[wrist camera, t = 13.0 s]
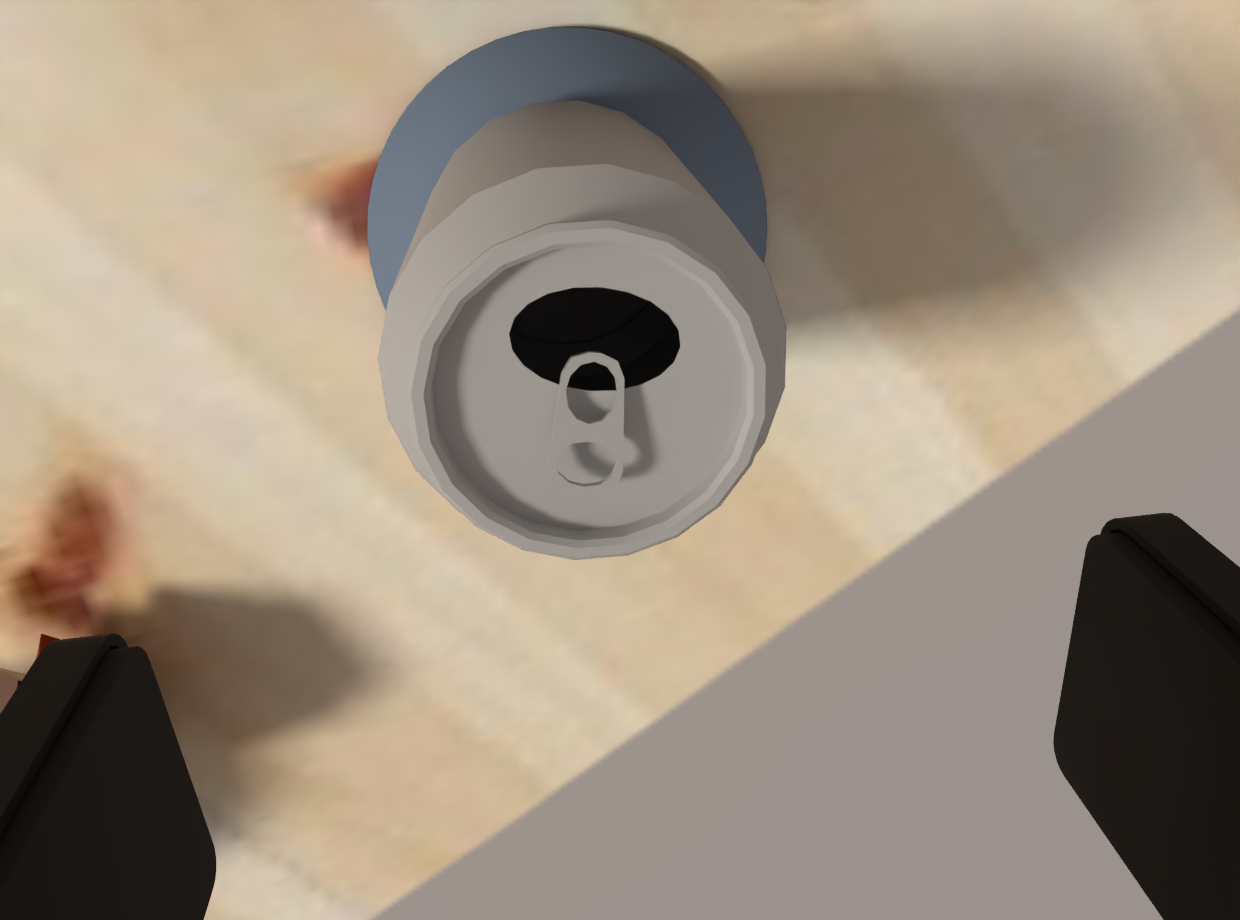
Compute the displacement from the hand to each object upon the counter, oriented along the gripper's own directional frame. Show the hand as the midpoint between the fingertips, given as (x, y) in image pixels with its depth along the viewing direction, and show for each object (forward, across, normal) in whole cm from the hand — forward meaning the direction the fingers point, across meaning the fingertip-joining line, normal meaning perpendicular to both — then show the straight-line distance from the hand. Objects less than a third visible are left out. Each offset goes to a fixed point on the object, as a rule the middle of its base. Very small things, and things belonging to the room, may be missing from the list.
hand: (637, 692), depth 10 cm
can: (+20, 0, 0) cm, 20 cm away
